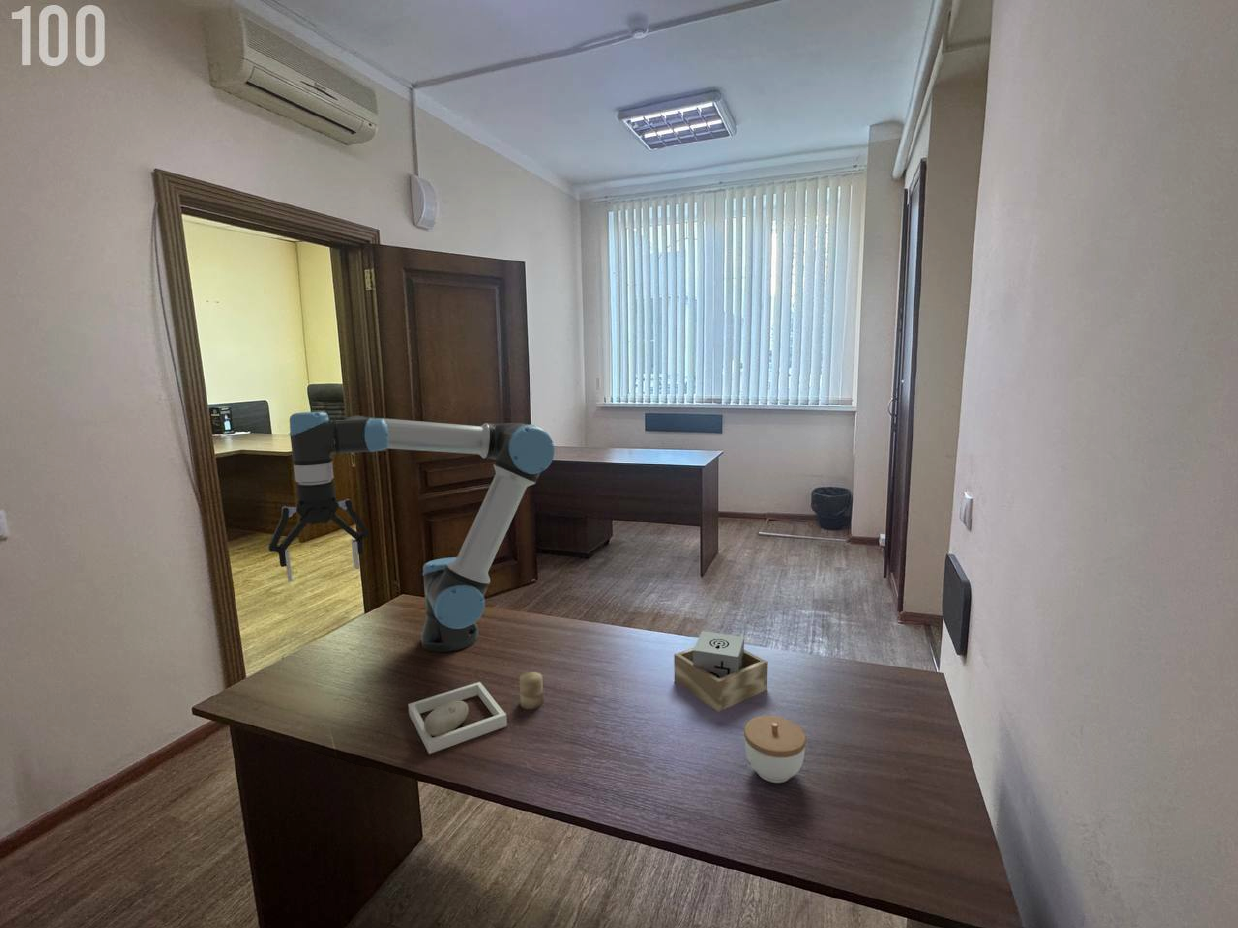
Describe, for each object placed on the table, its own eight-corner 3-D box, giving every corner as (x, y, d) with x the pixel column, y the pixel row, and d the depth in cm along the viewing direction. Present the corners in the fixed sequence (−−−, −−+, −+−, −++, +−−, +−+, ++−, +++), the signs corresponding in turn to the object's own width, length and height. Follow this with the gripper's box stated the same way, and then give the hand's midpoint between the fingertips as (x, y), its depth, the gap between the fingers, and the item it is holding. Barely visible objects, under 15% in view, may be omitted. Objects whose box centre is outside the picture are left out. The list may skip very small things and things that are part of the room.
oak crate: (721, 663, 143) (721, 637, 142) (766, 690, 131) (767, 661, 130) (674, 681, 135) (674, 654, 134) (718, 712, 123) (718, 681, 122)
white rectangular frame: (480, 691, 132) (479, 681, 132) (506, 725, 119) (506, 714, 119) (409, 714, 124) (408, 703, 124) (429, 754, 111) (428, 742, 110)
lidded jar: (771, 745, 111) (772, 700, 110) (817, 776, 102) (819, 728, 101) (731, 766, 106) (731, 719, 104) (775, 801, 97) (777, 750, 95)
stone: (477, 706, 123) (455, 713, 112) (462, 734, 122) (437, 744, 110) (456, 692, 124) (431, 698, 113) (441, 720, 123) (414, 728, 112)
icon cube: (737, 698, 126) (737, 656, 125) (692, 691, 130) (692, 650, 128) (743, 676, 135) (744, 636, 134) (701, 669, 139) (702, 631, 137)
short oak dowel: (537, 694, 131) (536, 669, 130) (547, 704, 127) (546, 679, 126) (517, 701, 128) (515, 676, 127) (526, 711, 124) (525, 686, 123)
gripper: (372, 473, 136) (379, 559, 140) (248, 486, 123) (259, 580, 126) (378, 477, 130) (385, 567, 133) (248, 491, 117) (260, 590, 120)
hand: (324, 573), depth 130 cm, fingers open, 13 cm apart
